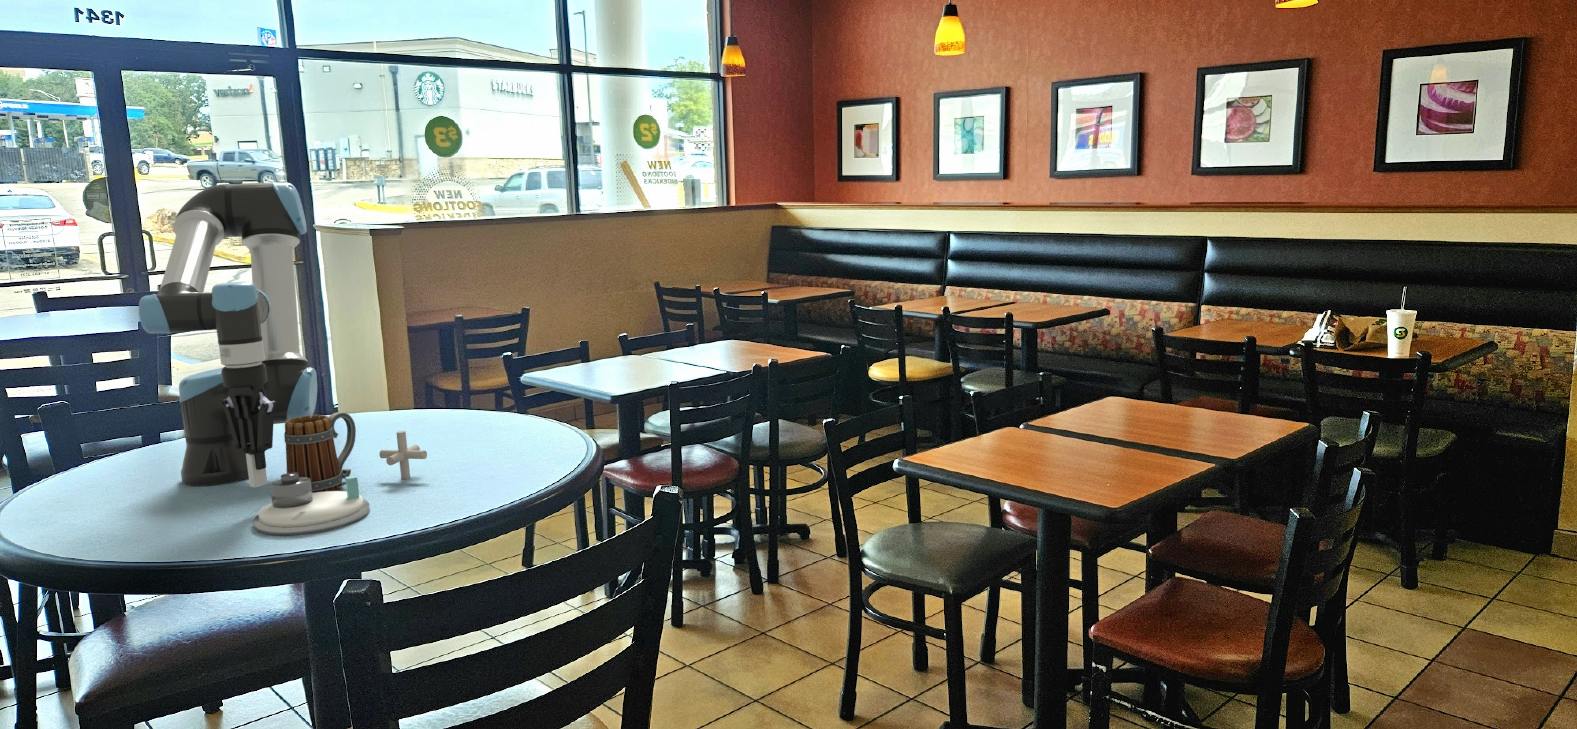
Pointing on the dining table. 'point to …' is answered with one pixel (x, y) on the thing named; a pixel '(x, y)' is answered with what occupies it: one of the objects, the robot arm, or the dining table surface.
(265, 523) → the turntable
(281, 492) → the cover
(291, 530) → the turntable base
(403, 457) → the pipe connector
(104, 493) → the dining table surface
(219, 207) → the robot arm
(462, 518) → the dining table surface
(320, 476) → the mug
